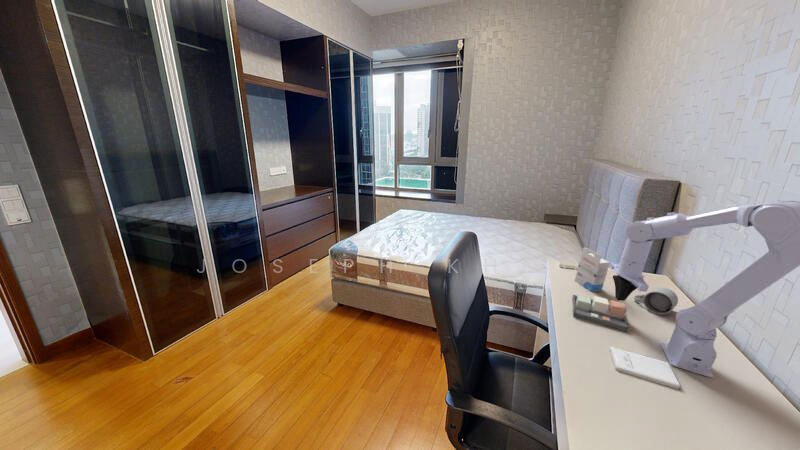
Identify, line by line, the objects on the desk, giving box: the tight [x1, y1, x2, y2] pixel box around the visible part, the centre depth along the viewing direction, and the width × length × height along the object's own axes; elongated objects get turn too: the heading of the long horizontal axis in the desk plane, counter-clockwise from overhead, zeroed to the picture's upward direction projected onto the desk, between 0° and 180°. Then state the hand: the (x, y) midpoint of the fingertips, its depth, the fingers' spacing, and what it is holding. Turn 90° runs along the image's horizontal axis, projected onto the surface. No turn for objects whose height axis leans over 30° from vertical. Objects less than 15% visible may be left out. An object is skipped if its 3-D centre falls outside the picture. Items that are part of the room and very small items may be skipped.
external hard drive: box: [608, 346, 681, 390], centre depth 73 cm, size 2×8×12 cm
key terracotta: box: [608, 299, 627, 318], centre depth 91 cm, size 4×4×3 cm
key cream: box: [592, 295, 610, 313], centre depth 93 cm, size 4×4×3 cm
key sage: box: [575, 295, 591, 312], centre depth 96 cm, size 4×4×3 cm
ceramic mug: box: [633, 287, 679, 316], centre depth 98 cm, size 11×8×8 cm
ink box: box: [574, 246, 611, 292], centre depth 109 cm, size 8×5×15 cm, turn 13°
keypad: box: [571, 294, 630, 333], centre depth 94 cm, size 12×14×2 cm
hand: (620, 299), depth 90 cm, fingers closed
